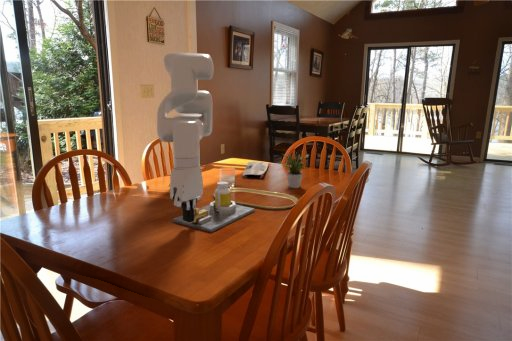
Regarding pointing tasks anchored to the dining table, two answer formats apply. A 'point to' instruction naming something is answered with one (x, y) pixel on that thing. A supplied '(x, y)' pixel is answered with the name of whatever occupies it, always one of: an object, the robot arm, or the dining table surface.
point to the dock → (217, 216)
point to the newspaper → (255, 169)
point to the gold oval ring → (264, 194)
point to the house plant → (294, 171)
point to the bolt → (199, 214)
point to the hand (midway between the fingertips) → (188, 220)
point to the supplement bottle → (222, 195)
